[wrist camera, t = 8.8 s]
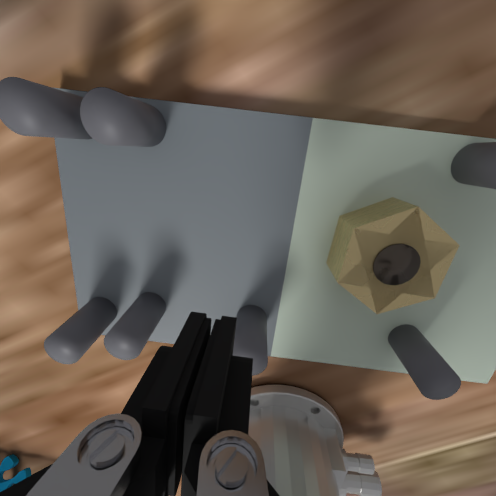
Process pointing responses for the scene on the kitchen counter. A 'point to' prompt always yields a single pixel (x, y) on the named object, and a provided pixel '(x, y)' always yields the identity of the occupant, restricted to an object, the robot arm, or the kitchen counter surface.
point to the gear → (8, 464)
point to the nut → (390, 255)
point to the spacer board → (259, 230)
